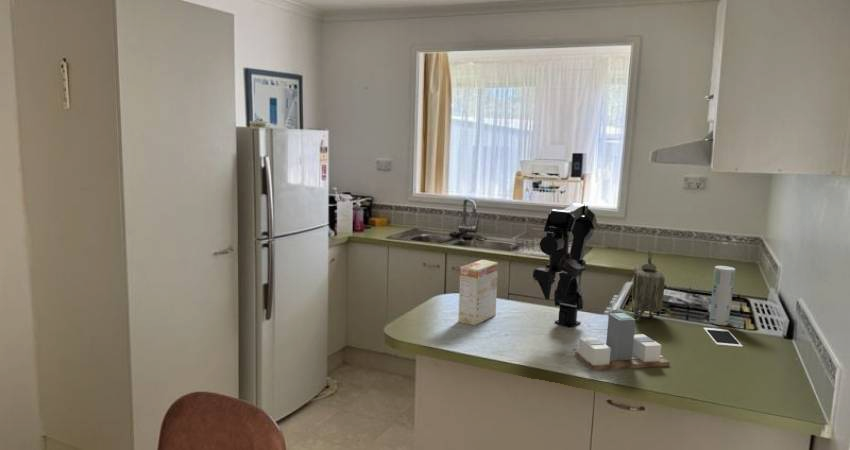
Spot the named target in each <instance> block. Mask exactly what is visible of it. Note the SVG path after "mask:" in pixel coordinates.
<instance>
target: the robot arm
mask: <svg viewBox="0 0 850 450" xmlns="http://www.w3.org/2000/svg"><path fill="white" fill-rule="evenodd" d="M597 223H598V222H597V218H596V214H595V213H594V212H593V211H592V210H591V209H589V207H588V205H587V204H585V203H579V202H578V203H577V202H574V203H572V204H570V205H569V206H568V207H565V208H564V209H552V210H550V212H549V213H548V215H547V218H546V222H545V225H544V229H543V232H544V233H546V236H544V237H542V239H541V240H540V242H539V249H540V250H541V252H542V253H543V254H544V255H546V256H549V258H548V263H547V264H545V267H538V268H537V267H536V268H535V269H534V270H533V271H532V278H533V279H534V280H536V281H537V283H538V285H539V286H540V289H541V291H542V294H543V296H544V299H545V300H547V301H548V300H549V299H550V297H551V291H552V285H553V284H554V283H555V282H556V280H555V279H556V275H558V276H559V279H558V282H557V285H556V286H557V287H556V288H555V290H554V294H553V299H554V306H557V307H558V308H559V310H558V319H557V320H554V323H556V324H559V325H561V326H564V327H568V328H572V327H575V326H578V325H580V324H581V322H580V321H578V320H577V319H578V311H579V310H583V308H584V298H583V295H582V287H581V285H580V283H579V282H580V281H579V278H580V277H581V276H582V274H583V272H584V271H586V270H587V268H586V266H587V265H586V263H587V261H586V260H585V259H584V254H585V250H586V246H587V245H586V244H587V242H588V241H589V239H590V238H592V237H593V235H594V232H595V230H596V228H597ZM570 234H572V236H573V239H572V242H571V248H570V250H569V244H570Z"/></svg>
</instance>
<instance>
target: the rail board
mask: <svg viewBox="0 0 850 450" xmlns="http://www.w3.org/2000/svg"><path fill="white" fill-rule="evenodd" d="M574 356H575V357H576V358H577V360H579V361H580V362H582V364H584V365H585V366H586V367H588V368H589V369H590V370H591V371H592V370H593V371H594V372H596V371H611V370H613V371H614V370H626V369H628V370H629V369H642V368H654V367H655V368H656V367H670V364H671V361H669V360H667V359H666V358H664V356H663V355H661V354H660V361H652V362H644V361H642V360H641V359H640V358H639V357H638V356H636V355H635V354H632V360H617V361H616V360H615V359H613V358H612V357H611V356H610V363H609V364H605V365H592V364H591V363H590V361H589V360H587V359H586V358H585V357H584V356H582V355H580V354H579V353H578V351H575V352H574Z"/></svg>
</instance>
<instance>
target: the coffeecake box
mask: <svg viewBox="0 0 850 450" xmlns="http://www.w3.org/2000/svg"><path fill="white" fill-rule="evenodd" d="M459 268H460V269H459V292H458V293H459V298H458V320H457V321H458V323H463V324H467V325H470V326H477V325H478V324H481V323H483V322H485V321H487V320H488V319H490V318H493V317H494V316H496V314H497V313H496V312H497V293H498V291H497V289H498V275H499V274H498V272H499V271H498V270H499V269H498V268H499V262H497V261H491V260H488V259H480V260H478V261H474V262H472V263H468V264H465V265H462V266H459Z"/></svg>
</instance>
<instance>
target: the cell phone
mask: <svg viewBox="0 0 850 450" xmlns="http://www.w3.org/2000/svg"><path fill="white" fill-rule="evenodd" d="M703 329H704V331H705V332H706V333H707V335H708V336H709V337H710V338H711V339H712V341H713V342H714V344H715V345H717V346H718V345H719V346H729V347H736V348H737V347H740V348H743V347H744V345H742V344H741V342H740V341H739V340H738V339H737V338H736V337H735V336H734V335H733V333H731V331H730V330H728V329H726V328H724V329H723V328H713V327H711V328H710V327H703Z"/></svg>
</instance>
